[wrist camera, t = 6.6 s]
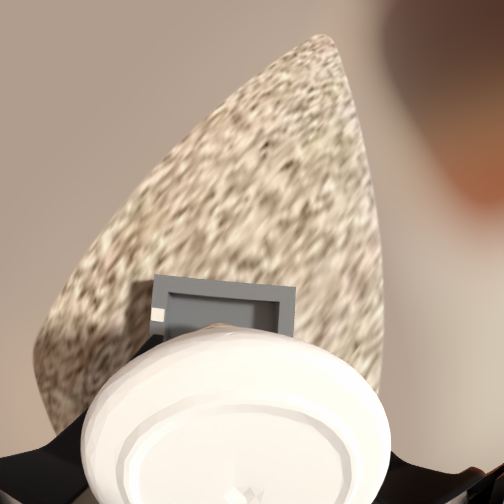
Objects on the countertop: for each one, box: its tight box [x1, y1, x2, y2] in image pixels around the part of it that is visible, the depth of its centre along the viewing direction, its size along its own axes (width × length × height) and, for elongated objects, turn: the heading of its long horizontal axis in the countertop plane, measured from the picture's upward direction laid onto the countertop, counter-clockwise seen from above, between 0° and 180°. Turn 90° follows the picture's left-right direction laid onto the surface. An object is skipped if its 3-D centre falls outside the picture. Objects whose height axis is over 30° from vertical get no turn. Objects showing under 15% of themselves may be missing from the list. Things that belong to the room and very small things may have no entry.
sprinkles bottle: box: [81, 323, 391, 504], centre depth 9 cm, size 5×5×13 cm
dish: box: [149, 274, 296, 341], centre depth 17 cm, size 9×9×2 cm
